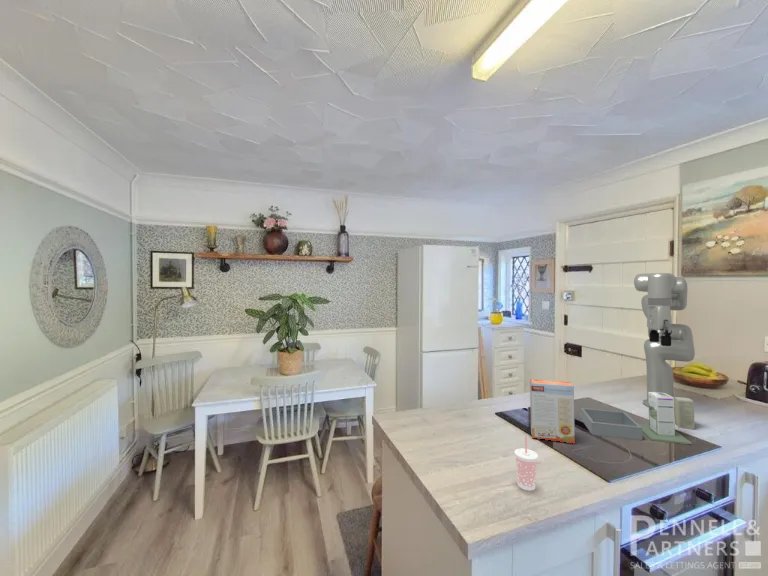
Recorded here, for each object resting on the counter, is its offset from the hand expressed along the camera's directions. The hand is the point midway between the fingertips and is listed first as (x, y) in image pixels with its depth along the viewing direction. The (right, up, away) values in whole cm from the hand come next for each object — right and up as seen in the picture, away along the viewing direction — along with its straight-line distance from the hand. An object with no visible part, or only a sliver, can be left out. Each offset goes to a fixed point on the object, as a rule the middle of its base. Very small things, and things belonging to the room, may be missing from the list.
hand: (659, 343), depth 134 cm
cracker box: (-53, -33, -15) cm, 64 cm away
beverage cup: (-75, -33, -44) cm, 93 cm away
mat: (-10, -32, -13) cm, 36 cm away
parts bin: (-26, -32, -7) cm, 42 cm away
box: (+5, -32, -6) cm, 33 cm away
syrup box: (-10, -32, -12) cm, 35 cm away
